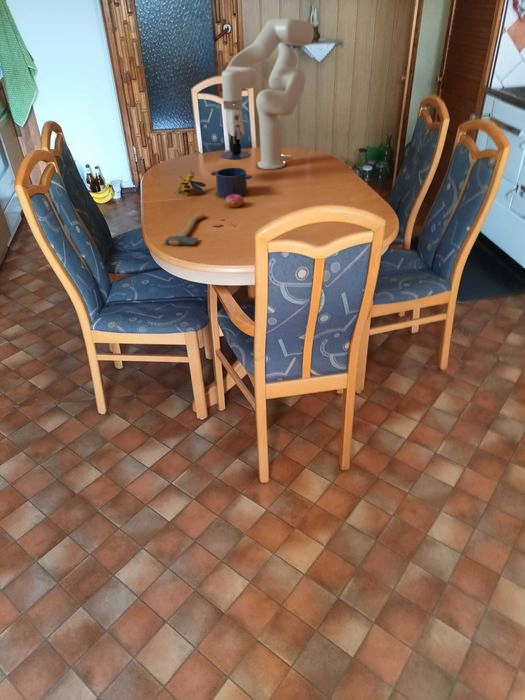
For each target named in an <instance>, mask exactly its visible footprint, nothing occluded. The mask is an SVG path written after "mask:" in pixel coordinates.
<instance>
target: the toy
mask: <svg viewBox="0 0 525 700" xmlns="http://www.w3.org/2000/svg"><path fill="white" fill-rule="evenodd" d="M189 171H191V172H190V173H189V174H188V175H187V176H186V179H183V177H182V175H178V176H179V178H180V179H181V180H182V181H183V182H180V184H179V185H178V187H177V189H176V190H175V192H174V194H177V192H178V191H181V193H180V194H181V195H184V194H185V196H188V195H189V194H190V192H191V190H192V189H193V190H194V191H195V192H196V193H197V194H204V193H205V192H204V189H202V188H205V187H206V186H207V185H206V183H204V182H201V181H195V180H192V179H193V178H195V172H196V169H194V171H192V169H188V170H187V172H189ZM189 184H190V185H191V186H190V185H189ZM191 188H192V189H191Z"/></svg>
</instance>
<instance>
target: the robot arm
mask: <svg viewBox="0 0 525 700" xmlns="http://www.w3.org/2000/svg"><path fill="white" fill-rule="evenodd" d="M313 26H314V25H312V23H311V22H310V21H306V20H302V19H295V18H287V17H286V18H284V17H283V18H282V17H280V18H278V17H277V18H271V19H269V20H268V21H266V23H265V24H264V26H263V27H262V29H261V30H260V32H259V34H258V35H257V37H256V38H255V39H254V41H253V43H252V44H250V45H248V46H247V47H245V48H244V49H242V50H241V51H239V52H237V54H236V55H234V57H232V59H231V60H230V62H229V63H228V65H227V66H226V68H225V70H223V71H222V72H221V86H222V88H221V89H222V102H223V104H222V105H223V110H224V111H225V117H226V118H225V123H226V124H225V125H226V132H227V133H228V135H229V147H230V151H231V152H232V141H233V154H234V155H235V154H241V150H242V145H241V144H242V143H241V139H242V137H244V135H245V128H244V117H243V112H242V110H243V106H244V105H243V90H245V89H246V90H247V89H248V90H250V89H253V88H255V87H256V86H257V85H258V83H259V79H260V77H259V76H260V75H259V73H258V71H257V70H256V69H255V68H253V66H257V65H260V64H263V63H266V62H267V61H269V59H270V58H271V57H272V56H273V54H274V52H275V50H276V49H278V55H277V58H276V61H275V63H274V66H273V67H272V70H271V72H270V75H269V78H268V86H269V88H270V89H263V90H261V91H259V92H258V93H257V95H256V98H255V105H256V106H255V107H256V110H257V115H258V122H259V123H258V124H259V125H258V126H259V145H260V147H259V148H260V161H259V162H257V167H258V168H259V169H262V170H278V169H281V168H284V167H285V166H286V161H291V160H293V156H292V154H290V155H288V154H283V153H282V151H283V150H282V122H281V119H280V117H279V116H281V117H282V116H284V117H288V116H290V115H292V114H293V113H294V111H295V109H296V107H297V104H298V102H299V101H300V97H301V95H302V93H303V91H304V88H305V84H306V76H305V72H304V70H302V69H301V68H299V67H296V66H297V64H298V57H297V55H296V51H295V49H294V46H308V45H310V44H311V43H312V41H313V40H314V37H315V29H314V27H313ZM241 136H242V137H241Z"/></svg>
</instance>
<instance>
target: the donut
mask: <svg viewBox="0 0 525 700" xmlns="http://www.w3.org/2000/svg"><path fill="white" fill-rule="evenodd" d="M244 199H245V198H244V196H242V197H241V195H237V194H232V195H229V196H227V197H226V198H224V204H225V205H226V206H227V207H228V208H233V209H235V208H239V207H242V206H243V205H244V203H245V202H244V201H245V200H244Z"/></svg>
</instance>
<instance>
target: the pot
mask: <svg viewBox="0 0 525 700" xmlns="http://www.w3.org/2000/svg"><path fill="white" fill-rule="evenodd" d="M210 175H211V176H214V177H215V181H216V192H217V196H218V197H220V198H222V199H226V197H227V196H229V195H232V194H237V195H241V197H245V196H246V195H248V182H247V180H250V179H252V178H253V176H252V174H247V171H246V169H245V168H241V167H226V168H220V169H219V170H213V171H211V172H210Z"/></svg>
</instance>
